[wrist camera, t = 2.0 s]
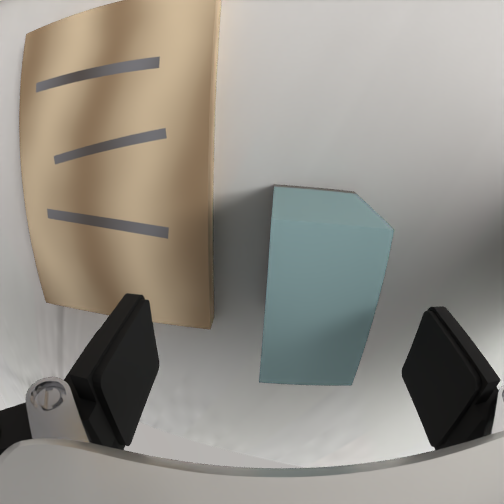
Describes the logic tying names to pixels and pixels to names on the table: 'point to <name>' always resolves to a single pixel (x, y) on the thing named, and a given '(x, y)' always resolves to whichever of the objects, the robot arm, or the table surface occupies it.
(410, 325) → the table surface
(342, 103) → the table surface
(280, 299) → the block
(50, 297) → the board
